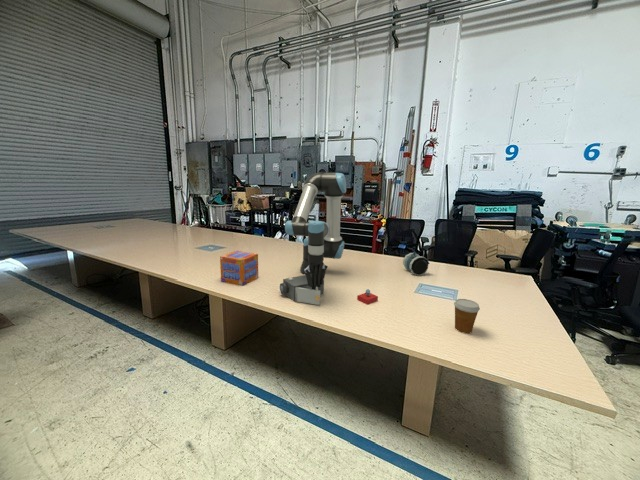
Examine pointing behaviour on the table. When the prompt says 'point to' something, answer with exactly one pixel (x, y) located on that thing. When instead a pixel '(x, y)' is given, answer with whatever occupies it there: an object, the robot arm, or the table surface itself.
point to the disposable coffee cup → (465, 314)
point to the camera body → (293, 282)
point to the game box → (239, 267)
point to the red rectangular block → (367, 297)
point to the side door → (307, 295)
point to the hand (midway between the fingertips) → (315, 298)
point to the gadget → (415, 263)
